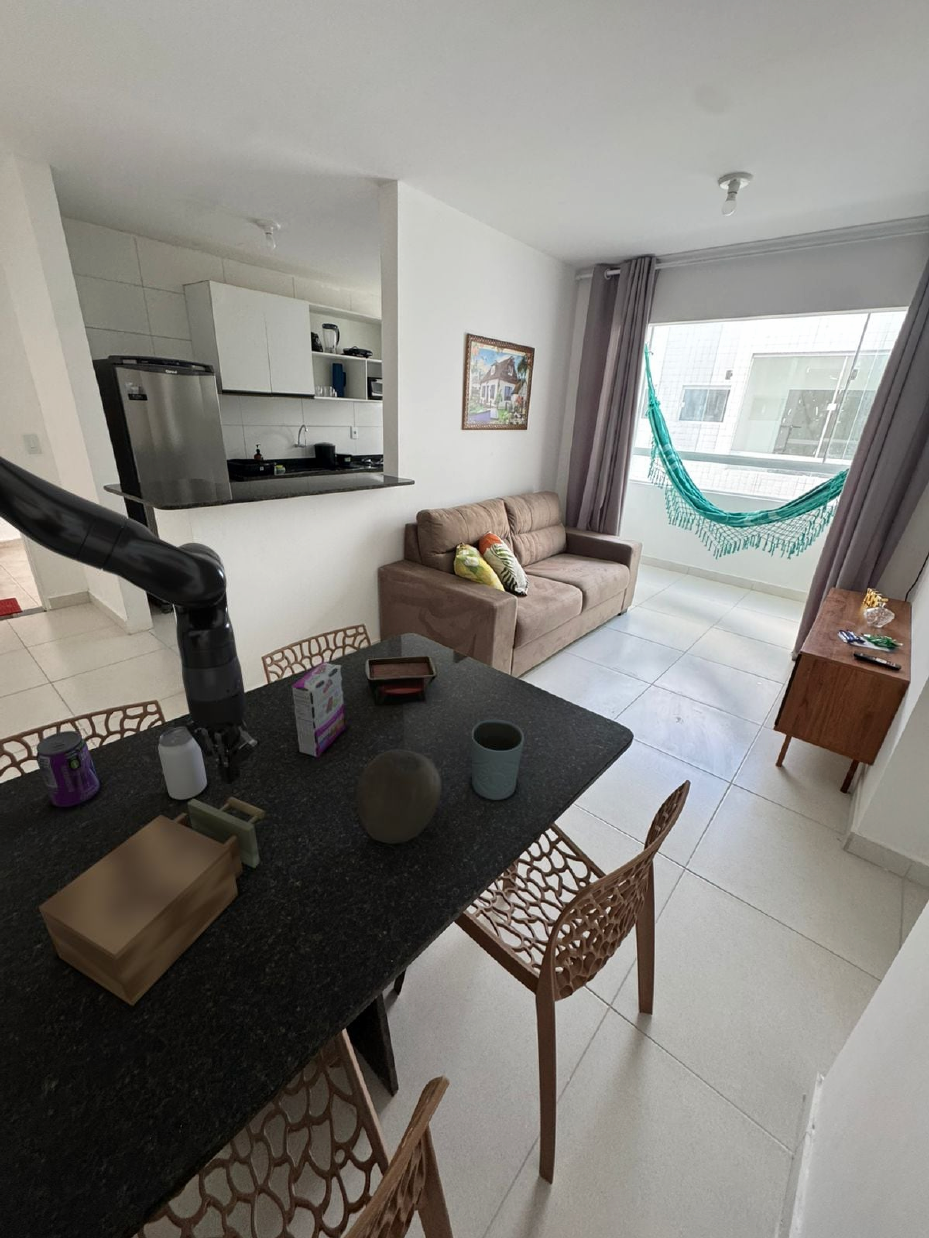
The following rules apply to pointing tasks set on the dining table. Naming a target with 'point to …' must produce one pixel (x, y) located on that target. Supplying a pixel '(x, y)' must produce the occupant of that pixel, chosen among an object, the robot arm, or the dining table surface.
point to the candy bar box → (319, 708)
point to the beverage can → (67, 768)
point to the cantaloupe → (398, 795)
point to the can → (182, 763)
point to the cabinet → (141, 906)
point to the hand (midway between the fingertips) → (230, 779)
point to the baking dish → (400, 678)
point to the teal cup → (495, 758)
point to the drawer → (227, 829)
